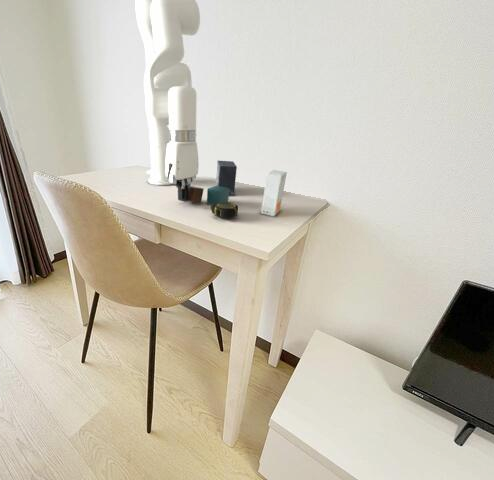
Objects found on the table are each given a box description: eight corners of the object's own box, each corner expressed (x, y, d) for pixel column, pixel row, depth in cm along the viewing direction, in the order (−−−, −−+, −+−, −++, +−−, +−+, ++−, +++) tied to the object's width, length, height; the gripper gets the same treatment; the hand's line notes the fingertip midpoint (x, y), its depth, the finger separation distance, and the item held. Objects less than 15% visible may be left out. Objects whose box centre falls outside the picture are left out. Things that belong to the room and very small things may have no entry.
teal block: (206, 203, 85) (207, 188, 82) (215, 199, 88) (216, 185, 86) (219, 206, 82) (220, 191, 80) (228, 203, 85) (229, 188, 83)
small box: (235, 195, 93) (237, 166, 88) (216, 195, 93) (218, 165, 88) (231, 187, 102) (234, 160, 97) (215, 187, 102) (216, 160, 97)
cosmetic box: (274, 216, 75) (281, 175, 70) (260, 213, 77) (266, 173, 72) (280, 210, 80) (287, 171, 74) (266, 208, 82) (272, 169, 76)
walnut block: (179, 200, 83) (182, 184, 82) (188, 200, 87) (191, 185, 86) (192, 203, 81) (195, 187, 79) (200, 203, 85) (203, 188, 83)
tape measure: (231, 211, 78) (232, 200, 76) (241, 220, 72) (242, 207, 71) (210, 213, 76) (210, 201, 75) (218, 222, 70) (219, 209, 69)
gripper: (190, 135, 80) (190, 193, 88) (153, 138, 70) (157, 203, 78) (209, 136, 76) (207, 197, 83) (173, 139, 65) (174, 208, 73)
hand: (183, 200), depth 80 cm, fingers closed
